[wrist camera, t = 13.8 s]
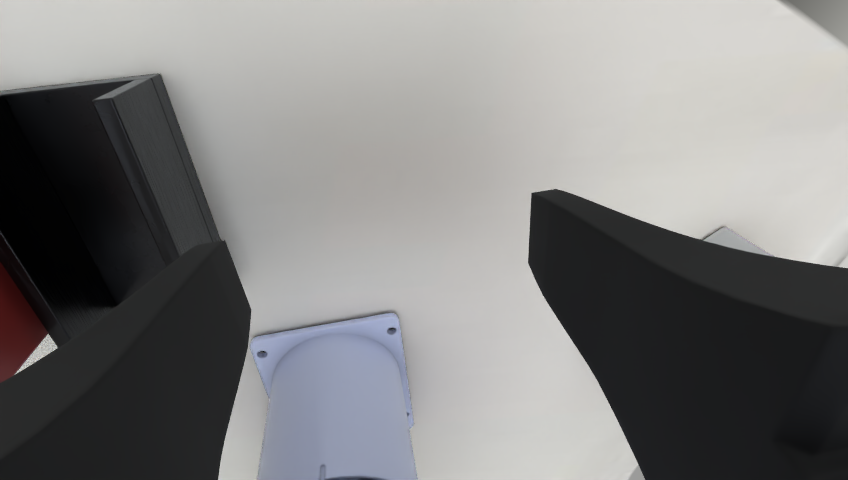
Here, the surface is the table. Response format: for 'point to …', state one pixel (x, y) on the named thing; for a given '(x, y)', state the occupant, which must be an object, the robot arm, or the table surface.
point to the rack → (94, 196)
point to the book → (16, 327)
